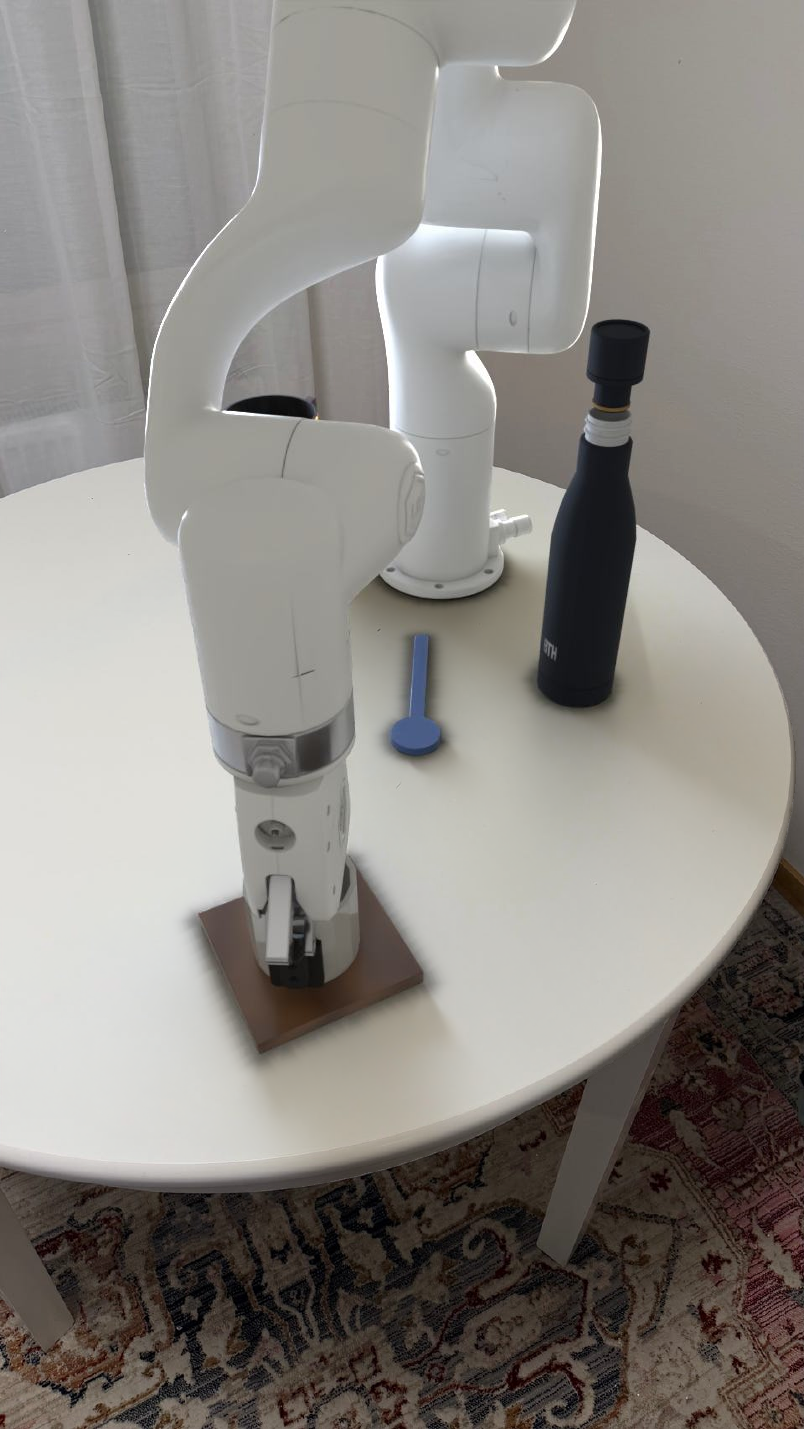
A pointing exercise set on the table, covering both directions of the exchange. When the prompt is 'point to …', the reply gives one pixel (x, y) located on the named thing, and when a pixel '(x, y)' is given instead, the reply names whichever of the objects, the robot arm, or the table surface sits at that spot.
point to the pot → (320, 929)
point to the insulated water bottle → (594, 530)
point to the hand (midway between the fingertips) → (306, 930)
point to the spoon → (417, 710)
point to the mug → (277, 406)
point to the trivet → (300, 1011)
